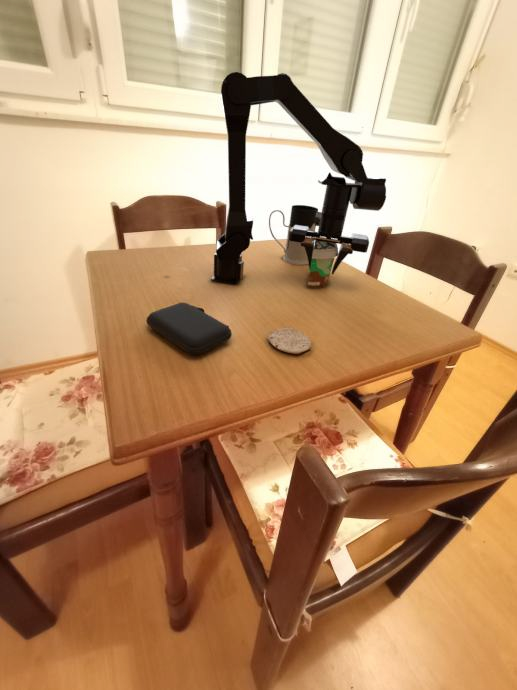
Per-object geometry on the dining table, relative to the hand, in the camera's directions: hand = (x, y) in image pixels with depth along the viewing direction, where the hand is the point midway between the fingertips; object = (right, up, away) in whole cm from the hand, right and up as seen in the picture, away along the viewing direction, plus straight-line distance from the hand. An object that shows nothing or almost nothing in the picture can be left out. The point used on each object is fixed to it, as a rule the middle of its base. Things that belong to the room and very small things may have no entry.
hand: (321, 271), depth 81 cm
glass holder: (-7, +7, +16) cm, 19 cm away
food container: (0, -3, +2) cm, 3 cm away
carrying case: (-29, -17, -24) cm, 41 cm away
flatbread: (-11, -19, -24) cm, 32 cm away
